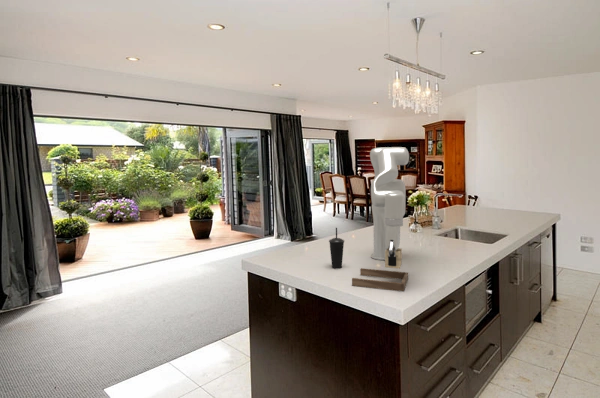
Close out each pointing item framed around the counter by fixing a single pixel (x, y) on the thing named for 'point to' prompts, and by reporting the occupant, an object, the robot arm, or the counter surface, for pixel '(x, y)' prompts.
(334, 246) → the drinking cup
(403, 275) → the bay
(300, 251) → the counter surface
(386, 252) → the light wooden block
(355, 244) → the counter surface
